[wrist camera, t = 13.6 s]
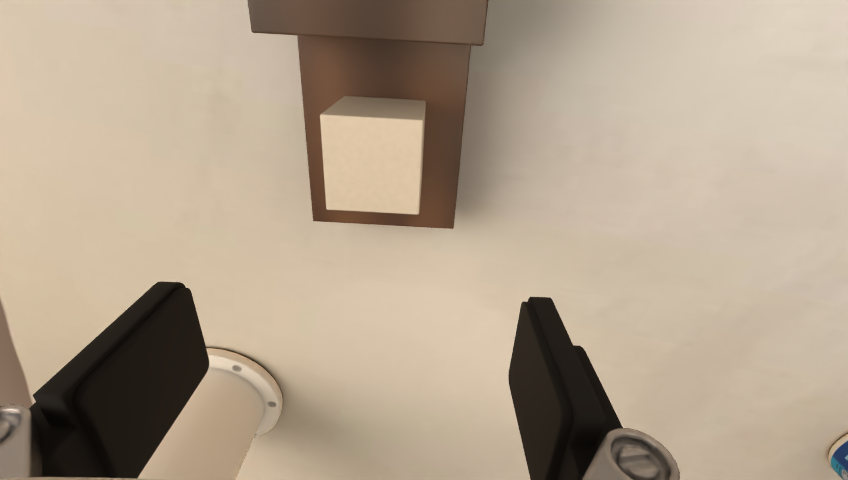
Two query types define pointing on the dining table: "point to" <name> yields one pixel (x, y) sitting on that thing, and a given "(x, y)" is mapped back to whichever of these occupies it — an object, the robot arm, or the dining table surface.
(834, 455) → the beverage bottle
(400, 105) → the block
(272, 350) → the dining table surface
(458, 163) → the step shelf
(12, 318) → the dining table surface
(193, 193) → the dining table surface
